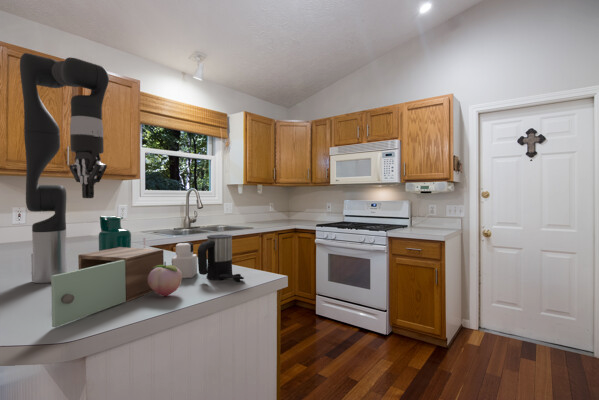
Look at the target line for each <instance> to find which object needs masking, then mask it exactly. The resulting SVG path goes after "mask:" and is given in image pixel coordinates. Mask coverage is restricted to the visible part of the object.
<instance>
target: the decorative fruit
mask: <svg viewBox="0 0 599 400" xmlns="http://www.w3.org/2000/svg"><path fill="white" fill-rule="evenodd" d="M166 263H167V262H166V261H164V265H157V266H155V267H153V269H152V271H151V272H150V274H149V276H148V284H149V286H150V288H151V289H152V290H153V292H155V293H156V294H157V295H160V296H162V297H168V296H169V295H172V294H173V293H174V292H176V291H178V289H179V287H180V285H181V284H182V283H181V282H182V280H183V278H182V273H181V271H180V270H179V269H178V268H177V267H175V266H173V265H172V264H169V265H168V264H166Z"/></svg>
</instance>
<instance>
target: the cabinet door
mask: <svg viewBox="0 0 599 400" xmlns="http://www.w3.org/2000/svg"><path fill="white" fill-rule="evenodd" d="M50 283H51V288H50V289H51V327H52V328H57V327H60V326H62V325H67V324H68V323H71V322H74V321H77V320H79V319H82V318H85V317H87V316H89V315H93V314H96V313H99V312H101V311H103V310H107V309H108V308H112V307H114V306H116V305H120V304H123V303H126V289H125V260H120V261H116V262H111V263H107V264H102V265H98V266H93V267H89V268H84V269H80V270H79V269H76V270H71V271H67V272H66V273H62V274H57V275H53V276H51V282H50Z"/></svg>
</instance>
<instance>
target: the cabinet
mask: <svg viewBox="0 0 599 400" xmlns="http://www.w3.org/2000/svg"><path fill="white" fill-rule="evenodd" d="M77 258H78V259H77V260H78V261H77V262H78V270H80V269H84V268H89V267H93V266H98V265H102V264H107V263H111V262H116V261H120V260H125V289H126V301H125V303H126V302H129V301H132V300H134V299H137V297H138V298H140V297H143V296H145V295H148V294H150V293H152V292H154V291H153V290H152V289H151V288H150V286H149V284H148V276H149V274H150V272H151V271H152V269H153V267H155V266H157V265H165V261H164V258H165V257H164V249H160V248H158V249H157V248H150V249H144V247H141V248H140V247H131V248H125V247H118V248H113V249H107V250H102V251H99V250H97V251H96V250H95V251H92V252H87V253H82V254H78V257H77ZM142 295H143V296H142ZM139 296H140V297H139Z"/></svg>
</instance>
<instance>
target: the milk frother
mask: <svg viewBox="0 0 599 400" xmlns="http://www.w3.org/2000/svg"><path fill="white" fill-rule="evenodd" d="M206 238H207V240H206V241H202V242H201V243H200V244H199V246H198V248H197V269H198V274H200V275H203V276H205V275H206V279H208V280H213V281H215V280H217V281H218V280H219V281H220V280H227V279H230V280H233V281H235V282H236V283H237V282H241V280H245V277H244V276H242V273H235V274H233V235H232V234H209V235H207V236H206Z"/></svg>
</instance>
